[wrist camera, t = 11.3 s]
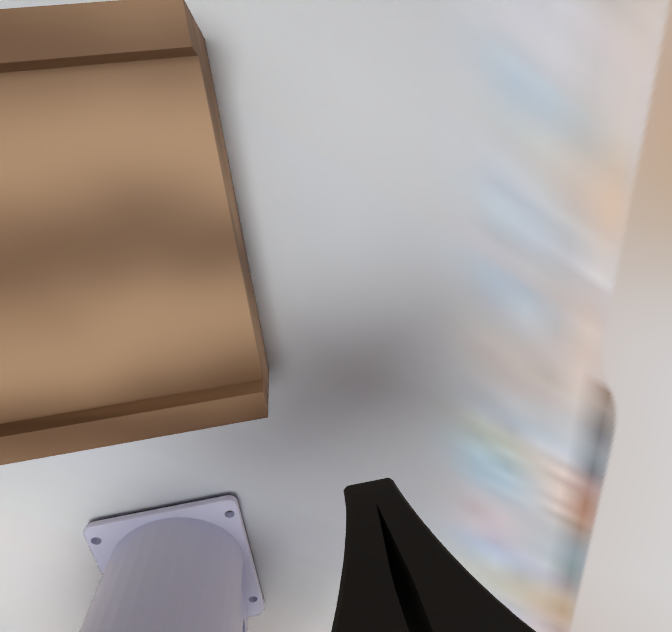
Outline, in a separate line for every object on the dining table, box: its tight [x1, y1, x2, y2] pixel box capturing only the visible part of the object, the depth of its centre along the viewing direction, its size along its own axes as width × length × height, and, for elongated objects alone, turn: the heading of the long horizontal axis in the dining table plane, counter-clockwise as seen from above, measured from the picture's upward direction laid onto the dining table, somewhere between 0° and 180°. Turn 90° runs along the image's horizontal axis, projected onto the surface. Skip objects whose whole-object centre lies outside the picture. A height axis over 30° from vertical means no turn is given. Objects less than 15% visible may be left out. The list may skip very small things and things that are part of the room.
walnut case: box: [0, 0, 269, 465], centre depth 15 cm, size 14×16×4 cm
